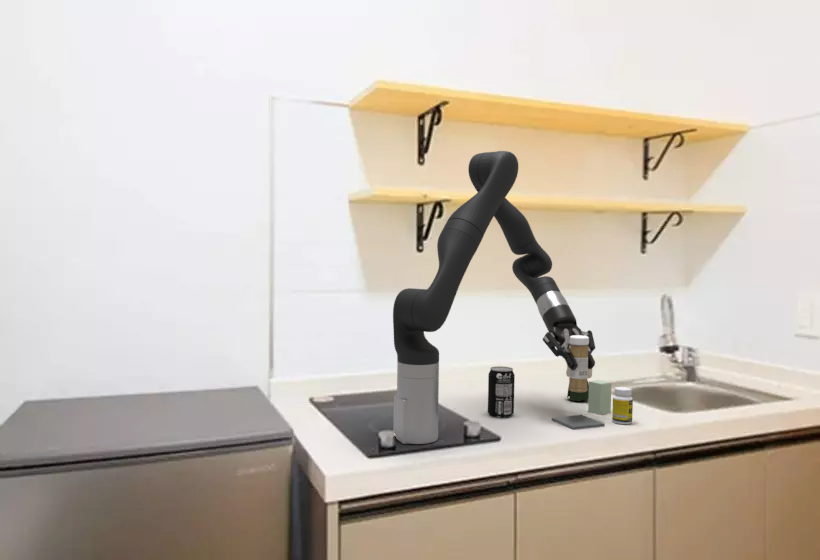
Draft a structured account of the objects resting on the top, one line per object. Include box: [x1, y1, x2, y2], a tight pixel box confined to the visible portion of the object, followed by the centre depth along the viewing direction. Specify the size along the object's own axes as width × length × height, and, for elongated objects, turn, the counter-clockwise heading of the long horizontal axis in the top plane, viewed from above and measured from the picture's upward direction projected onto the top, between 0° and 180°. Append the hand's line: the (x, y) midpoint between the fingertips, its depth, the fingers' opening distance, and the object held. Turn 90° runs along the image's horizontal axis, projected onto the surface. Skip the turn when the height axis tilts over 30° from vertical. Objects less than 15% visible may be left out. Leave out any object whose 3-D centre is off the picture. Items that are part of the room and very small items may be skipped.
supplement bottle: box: [611, 386, 634, 425], centre depth 158 cm, size 5×5×8 cm
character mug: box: [565, 355, 594, 403], centre depth 181 cm, size 11×7×13 cm, turn 14°
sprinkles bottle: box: [568, 335, 589, 392], centre depth 157 cm, size 5×5×14 cm
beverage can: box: [487, 365, 516, 419], centre depth 164 cm, size 7×7×12 cm
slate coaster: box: [550, 414, 606, 430], centre depth 157 cm, size 9×9×1 cm
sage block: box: [587, 379, 612, 416], centre depth 168 cm, size 4×4×8 cm
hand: (583, 367), depth 155 cm, fingers closed on sprinkles bottle, 4 cm apart
